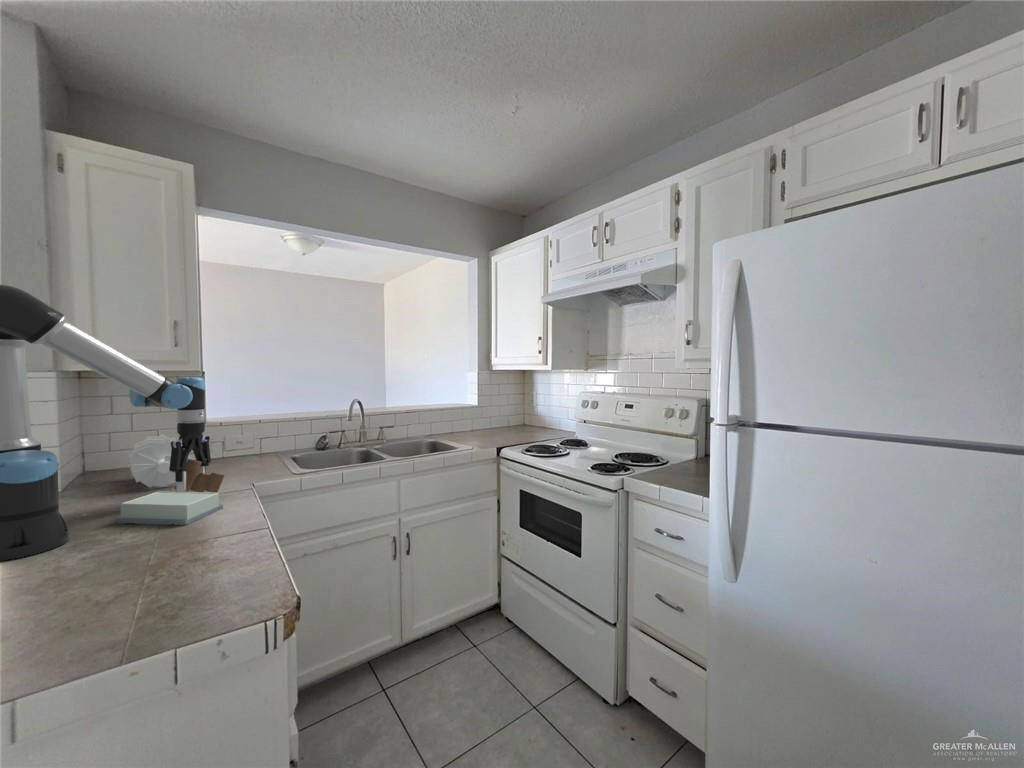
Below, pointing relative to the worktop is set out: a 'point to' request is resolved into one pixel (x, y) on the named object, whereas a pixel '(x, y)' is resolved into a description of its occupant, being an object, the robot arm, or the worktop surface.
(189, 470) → the wooden block set
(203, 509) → the base
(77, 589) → the worktop surface
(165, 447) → the spiral staircase
